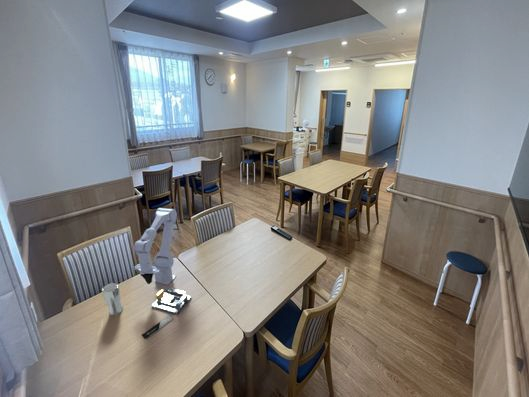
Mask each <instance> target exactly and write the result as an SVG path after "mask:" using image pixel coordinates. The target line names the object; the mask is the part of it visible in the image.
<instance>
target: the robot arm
mask: <svg viewBox="0 0 529 397" xmlns="http://www.w3.org/2000/svg"><path fill="white" fill-rule="evenodd" d="M177 216H178V213H177V211H176V209H175V208H163V207H158V208H157V209H156V211H155V217H154V220H153V222H152V224H151V226H150V227H149V228H146V229H145V231H144V232H143V234H142V236H141V237H140V239H138V240H137V241H135V243H134V244H133V251H134V252H135V254H136V255H137V257H138V258H137V259H138V262H139V263H138V264H136V265H135V266H134V268H133V269H134V270H135V271H139V274H140V276H141V277H142V278H143V279H144V280H145V282H146V284H148V285H150V284H151V283H152V282H153V277H154V278H155V279H154V282H156V283H158V284H163V285H167V286H168V285H169V284H170V283H171V282H172V281H173V280H174V279H175V278H176V277H177V276H176V275H174V274H173V270H172V267H173V266H174V264H175V263H174V262H175V261H174V254H173V253H172V252H171V242H172V238H173V232H174V231H173V230H174V224H175V223H176V221H177ZM162 224H163V231H162V236H161V244H160V249H159V251H158V252H157V253H156V254H155V257H154V260H152V256H151V249H152V245H153V242H154V240H155V238H157V235H158V233H157V232H158V229H159V228H160V227H161V226H162Z"/></svg>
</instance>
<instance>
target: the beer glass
mask: <svg viewBox="0 0 529 397" xmlns="http://www.w3.org/2000/svg"><path fill="white" fill-rule="evenodd" d="M101 291H102V295H103V299H104V301H105V303H106V304H107V306H108V310H109V314H110V316H116V315H119V314H121V312H123V310H124V306H123V304H122V303H121V300H122V299H121V291H120V287H119V286H118V284H117V283H116V282H115V283H114V282H111V283H108V284H106V285H104V286H103V287H102V290H101Z"/></svg>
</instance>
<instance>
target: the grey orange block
mask: <svg viewBox="0 0 529 397" xmlns="http://www.w3.org/2000/svg"><path fill="white" fill-rule="evenodd" d="M164 292H165V291H164V289H161V290H158V292H157V293H156V300H161V301H164V302H168V303H171V302H172V301H173V299H174V298H175V297H174V296H172V295H168V294H164Z"/></svg>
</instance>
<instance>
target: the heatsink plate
mask: <svg viewBox="0 0 529 397" xmlns="http://www.w3.org/2000/svg"><path fill="white" fill-rule="evenodd" d="M163 292H164V294H168V295H172V296H174V297H175V298H174V299H173V301H172V302H171V303H168V302H164V301H161V300H157V299H156V300H155V301H154V302H153V303H152V304H151V308H152V309H153V308H154V309H156V310H159V311H163V312H167V313H171V314H174V315H177V316H178V315H180V313H181V312H182V311H183V309H184V308H185V306H187V304H188V303H189V302H190V301H191V299H192V296H190V295H188V294H187V292H186V291H184V290H180V289H177V288H173V287H169V288H168V289H165V290H164V291H163Z"/></svg>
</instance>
